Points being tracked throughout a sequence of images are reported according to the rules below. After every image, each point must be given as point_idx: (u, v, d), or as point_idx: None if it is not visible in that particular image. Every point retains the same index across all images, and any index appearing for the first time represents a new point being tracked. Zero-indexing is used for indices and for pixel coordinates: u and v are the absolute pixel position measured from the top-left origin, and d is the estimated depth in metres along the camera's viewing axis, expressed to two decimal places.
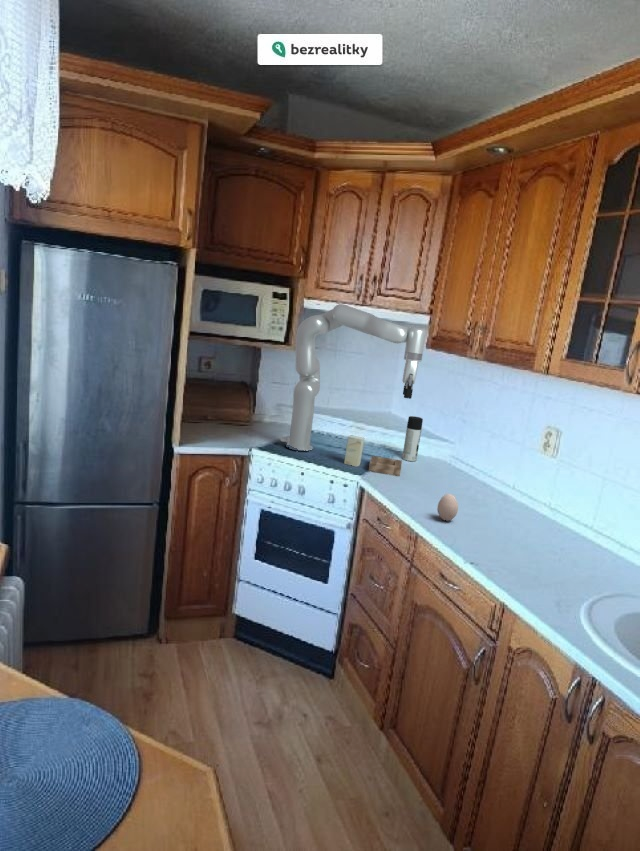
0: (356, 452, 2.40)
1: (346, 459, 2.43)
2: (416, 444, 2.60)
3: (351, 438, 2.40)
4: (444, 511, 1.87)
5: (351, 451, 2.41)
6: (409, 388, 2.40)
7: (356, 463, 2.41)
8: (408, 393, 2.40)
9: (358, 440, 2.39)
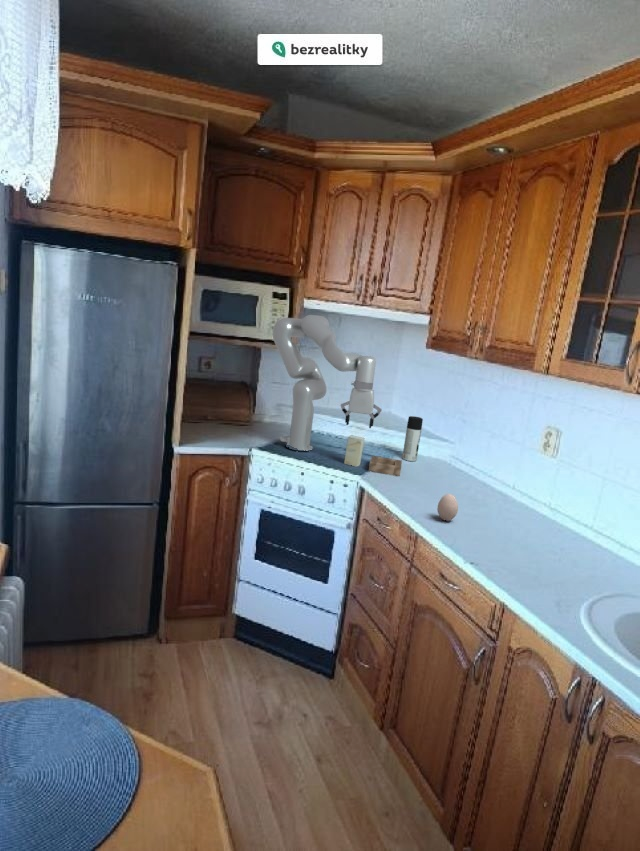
0: (356, 452, 2.40)
1: (346, 459, 2.43)
2: (416, 444, 2.60)
3: (351, 438, 2.40)
4: (444, 511, 1.87)
5: (351, 451, 2.41)
6: (374, 417, 2.39)
7: (356, 463, 2.41)
8: None
9: (358, 440, 2.39)
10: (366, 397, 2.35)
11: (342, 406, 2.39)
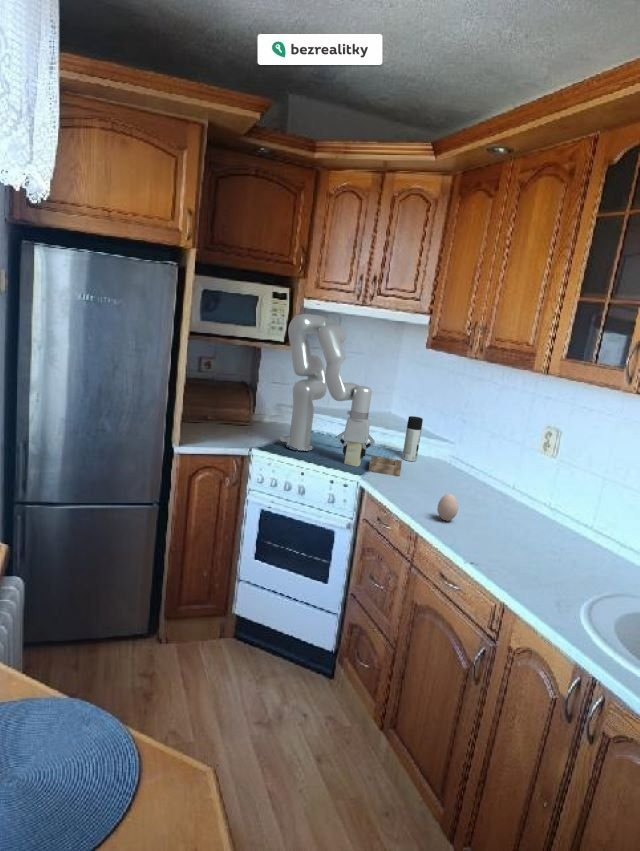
0: (356, 452, 2.40)
1: (346, 459, 2.42)
2: (416, 444, 2.60)
3: None
4: (444, 511, 1.87)
5: (351, 451, 2.41)
6: (366, 448, 2.42)
7: (356, 463, 2.41)
8: None
9: None
10: (361, 427, 2.38)
11: (339, 437, 2.42)
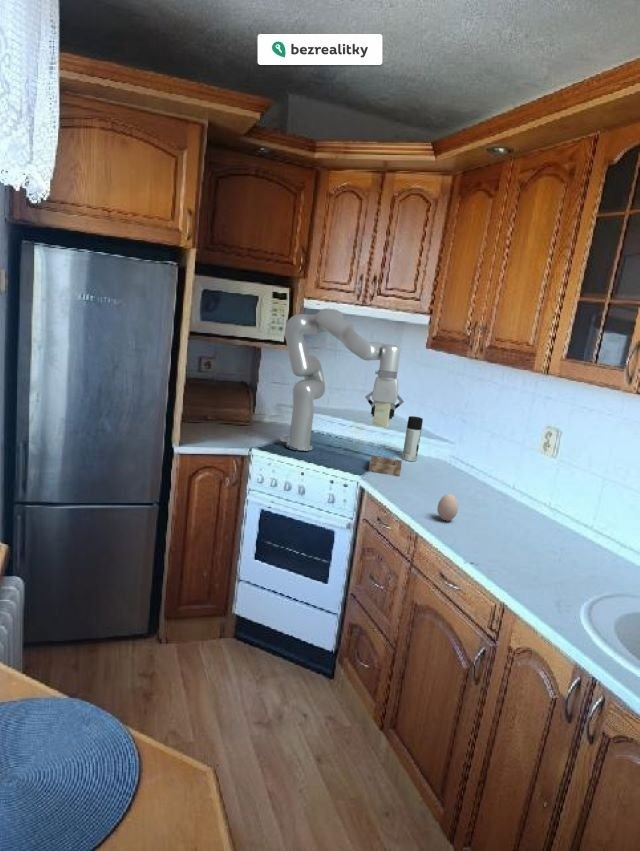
0: (385, 412, 2.35)
1: (374, 420, 2.37)
2: (416, 444, 2.60)
3: None
4: (444, 511, 1.87)
5: (379, 411, 2.36)
6: (395, 408, 2.37)
7: (385, 424, 2.36)
8: None
9: None
10: (390, 386, 2.33)
11: (367, 398, 2.37)
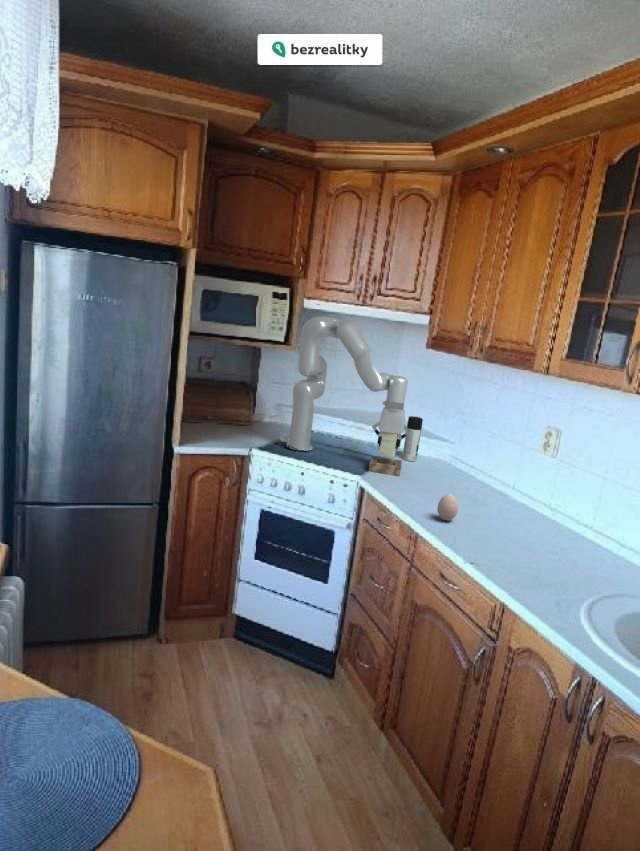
0: (391, 443, 2.37)
1: (381, 450, 2.39)
2: (416, 444, 2.60)
3: None
4: (444, 511, 1.87)
5: (386, 442, 2.38)
6: None
7: (391, 454, 2.38)
8: None
9: None
10: (397, 417, 2.35)
11: (374, 428, 2.39)
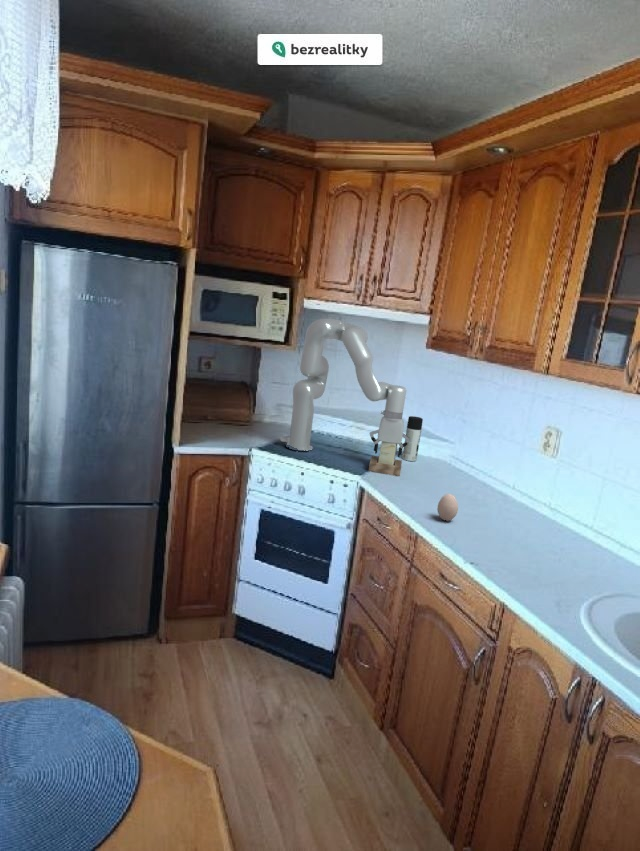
0: (390, 456, 2.38)
1: None
2: (416, 444, 2.60)
3: None
4: (444, 511, 1.87)
5: (384, 454, 2.39)
6: None
7: None
8: (401, 452, 2.40)
9: (392, 443, 2.37)
10: (396, 427, 2.35)
11: (371, 435, 2.40)
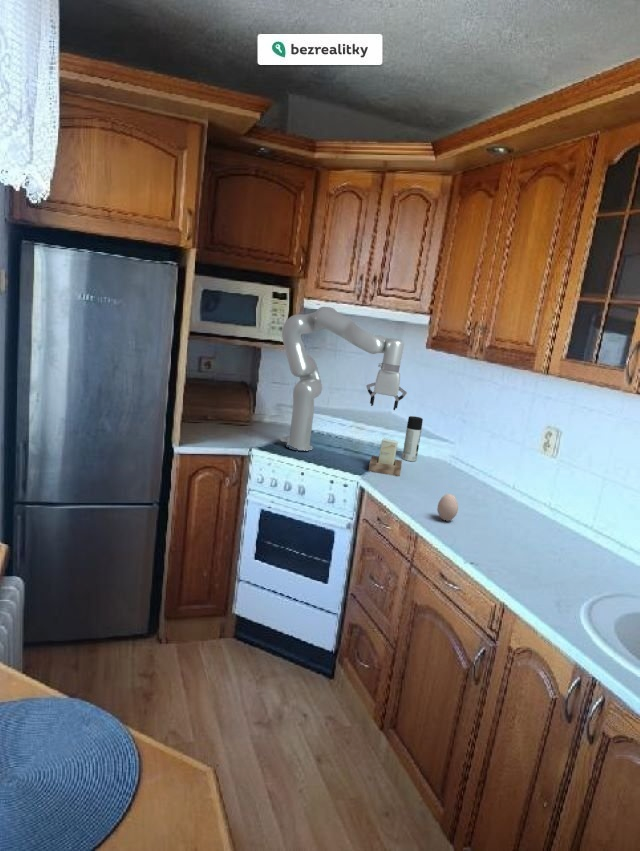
0: (390, 456, 2.38)
1: None
2: (416, 444, 2.60)
3: (385, 441, 2.38)
4: (444, 511, 1.87)
5: (384, 454, 2.39)
6: None
7: None
8: (397, 405, 2.43)
9: (392, 443, 2.37)
10: (392, 379, 2.39)
11: (368, 387, 2.43)
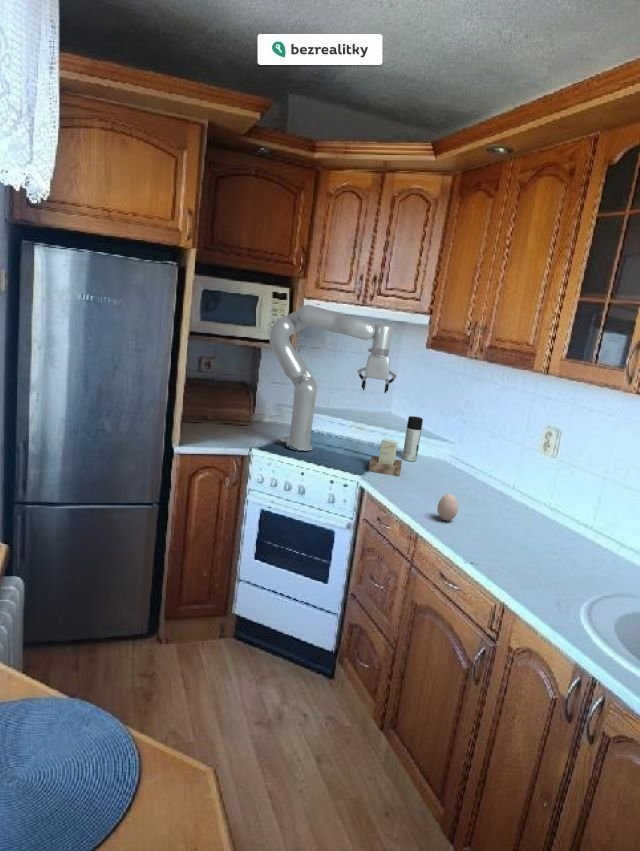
0: (390, 456, 2.38)
1: None
2: (416, 444, 2.60)
3: (385, 441, 2.38)
4: (444, 511, 1.87)
5: (384, 454, 2.39)
6: (389, 383, 2.51)
7: None
8: None
9: (392, 443, 2.37)
10: (382, 363, 2.47)
11: (359, 372, 2.52)
